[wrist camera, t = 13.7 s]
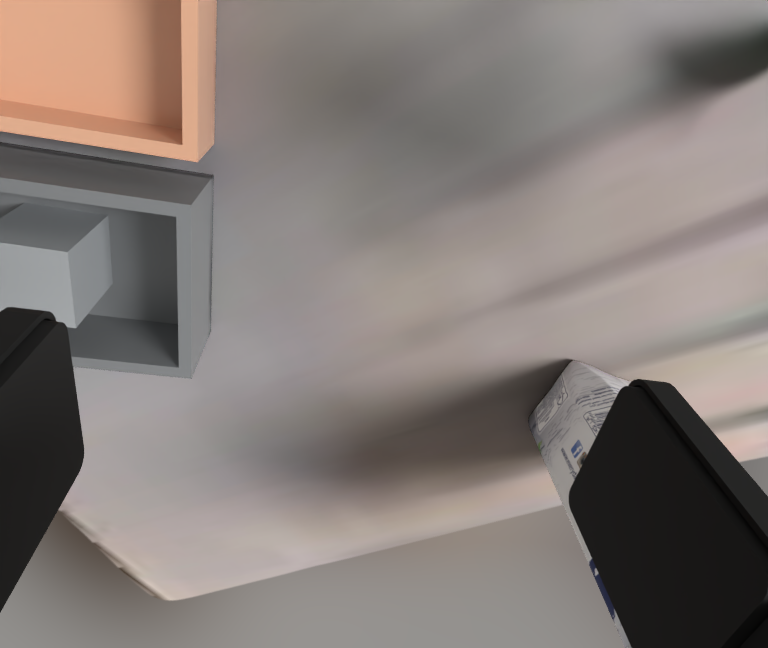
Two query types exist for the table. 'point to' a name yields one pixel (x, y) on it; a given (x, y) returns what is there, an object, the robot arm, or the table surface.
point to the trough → (111, 73)
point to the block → (54, 261)
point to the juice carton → (575, 437)
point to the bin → (131, 254)
